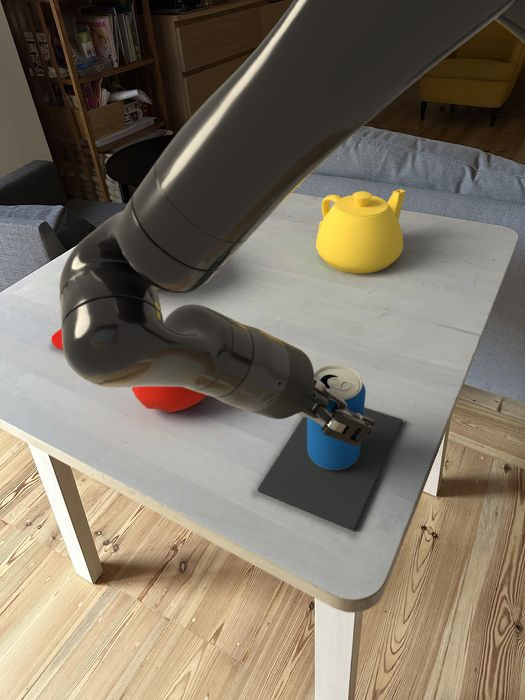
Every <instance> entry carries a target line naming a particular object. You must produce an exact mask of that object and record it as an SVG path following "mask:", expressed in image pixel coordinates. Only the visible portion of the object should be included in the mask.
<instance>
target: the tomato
mask: <svg viewBox="0 0 525 700" xmlns="http://www.w3.org/2000/svg"><path fill="white" fill-rule="evenodd" d="M131 390H132V392H133V394H134V396H135V398H136V399H137V400H138V401H139V402H140V403H141V404H142V406H144V407H145V408H146V409H149V410H160V411H163V412H168V413H173V412H177V411H183V410H186V409H188V408H190V407H192V406H194V405H196V404H198V403H200V402H201V401H202V400H204V399H205V398H206V397H208V395H205V394H202V393H199V392H196V391H193V390H190V389H186V388H184V387H156V386H144V387H131Z"/></svg>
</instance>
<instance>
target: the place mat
mask: <svg viewBox="0 0 525 700" xmlns="http://www.w3.org/2000/svg"><path fill="white" fill-rule="evenodd" d="M363 416H365V417H368V418H370V419H372V420H373V421H374V422H375V426H374V427H375V428H374V430H373V431H372V433H371V434H370V435H369V437H368V438H364V439H363V440H362V441H361V446H360V454H359V457H358V459H357V460H356V462H355V463H354V464H352V465H351V466H349V467H347V468H344V469H339V470H331V469H326V468H323V467H321V466H319V465H317V464H316V463H314V462H313V461H312V460H311V458H310V457H309V455H308V452H307V417H303V416H302V418H301V420H300V422H299V423H298V425H297V426H296V428H295V429H294V431H293V432H292V434H291V435H290V437H289V438H288V440H287V442H286V443H285V445H284V446H283V448H282V450H281V452H280V453H279V455H278V456H277V457H276V459H275V461H274V462H273V464H272V466H271V467H270V468H269V470H268V471H267V473H266V475H265V476H264V478H263V479H262V481H261V482H260V484H259V486H258V488H257V492H258V493H261V494H263V495H265V496H268V497H270V498H272V499H275V500H278V501H279V502H282V503H285V504H287V505H289V506H291V507H292V506H293V507H294V508H297V509H299V510H301V511H304V512H307V513H309V514H311V515H313V516H316V517H318V518H321V519H322V520H325V521H328V522H330V523H333V524H335V525H337V526H340V527H343V528H345V529H347V530H350V531H352V532H355V531H356V528H357V526H358V524H359V521H360V519H361V517H362V515H363V512H364V510H365V508H366V506H367V503H368V501H369V499H370V496H371V494H372V492H373V490H374V487H375V485H376V483H377V481H378V478H379V476H380V474H381V472H382V469H383V467H384V465H385V464H386V463H385V462H386V460H387V458H388V455H389V453H390V451H391V449H392V446H393V444H394V442H395V440H396V438H397V435H398V433H399V432H400V429H401V426H402V424H403V419H402V418H399V417H396V416H393V415H389V414H386V413H383V412H380V411H376V410H373V409H372V408H371V409H370V408H368V407H364V415H363Z"/></svg>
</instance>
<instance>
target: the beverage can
mask: <svg viewBox="0 0 525 700" xmlns="http://www.w3.org/2000/svg"><path fill="white" fill-rule="evenodd" d="M314 378H316V379H318V380H319V381H321V382H322V383H324V385H325V387H326V388H327V389H329V390H330V391H332V392H333V393H335V394H337V395H338V396H340V397H341V398H343V399H344V401H345V402H346V404H347V407H348V408H350V409H351V410H353V411H354V412H356V413H359V414H360V415H364V408H365V403H366V393H367V392H366V391H367V390H366V386H365V384H364V382H363V378H362V376H361V375H360V374H359V372H357V371H356V370H355V369H353V368H351V367H348V366H345V365H340V364H330V365H326V366H322V367H320V368H318V369H317V370H316V371H314ZM335 404H336V402H335V401H334V400H332V399H330V402H329V404H328V407H327V408H326V409H327V410H329V411H331V409H332V408H333V407H334V405H335ZM322 427H323V426H321V425H320V424H318V423H317V422H315V421H313V420H312V419H310V418H309V417H307V452H308V455H309V457H310V458H311V460H312V461H313V462H314V463H316V464H317V465H319V466H321V467H323V468H326V469H331V470H339V469H344V468H347V467H349V466H351V465H352V464H354V463H355V462H356V460H357V459H358V457H359V454H360V446H361V443H360V444H359V445H358V446H354V445H352V444H349V443H346V442H343V441H340V440H338V439H335V438H332V437H329V436H326V435H325V434H324V433H323V432H322V430H321V429H322Z"/></svg>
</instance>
